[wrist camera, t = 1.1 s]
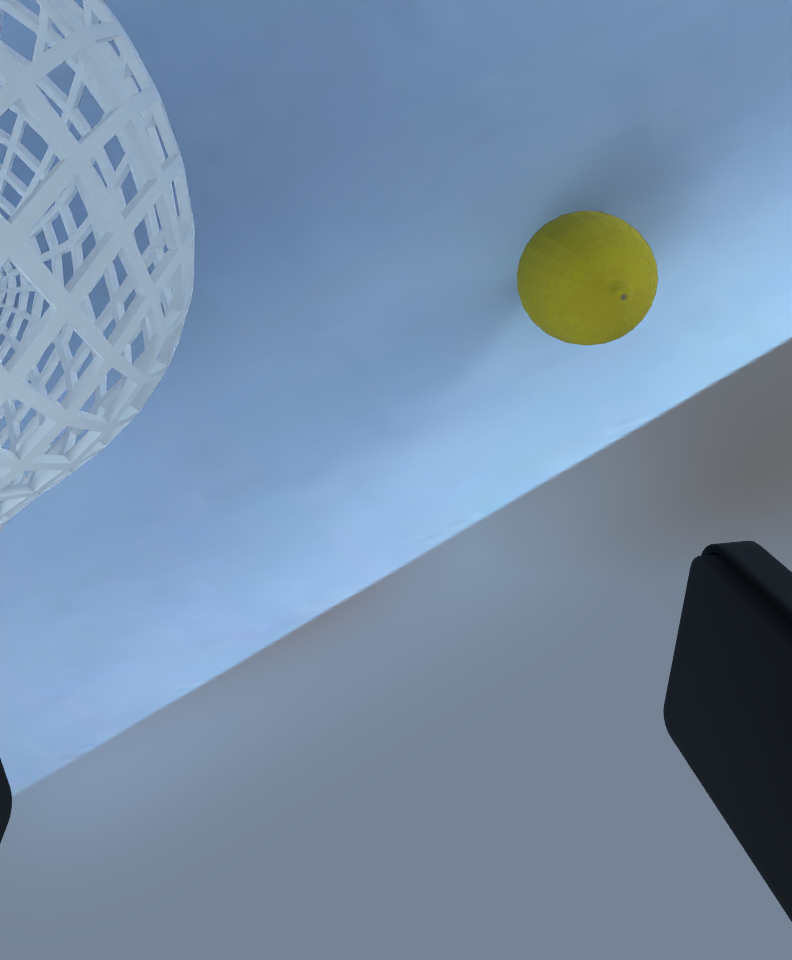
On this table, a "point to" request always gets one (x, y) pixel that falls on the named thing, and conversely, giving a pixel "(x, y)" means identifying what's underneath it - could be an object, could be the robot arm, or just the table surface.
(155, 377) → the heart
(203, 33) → the table surface
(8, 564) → the table surface
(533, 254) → the lemon
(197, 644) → the table surface
